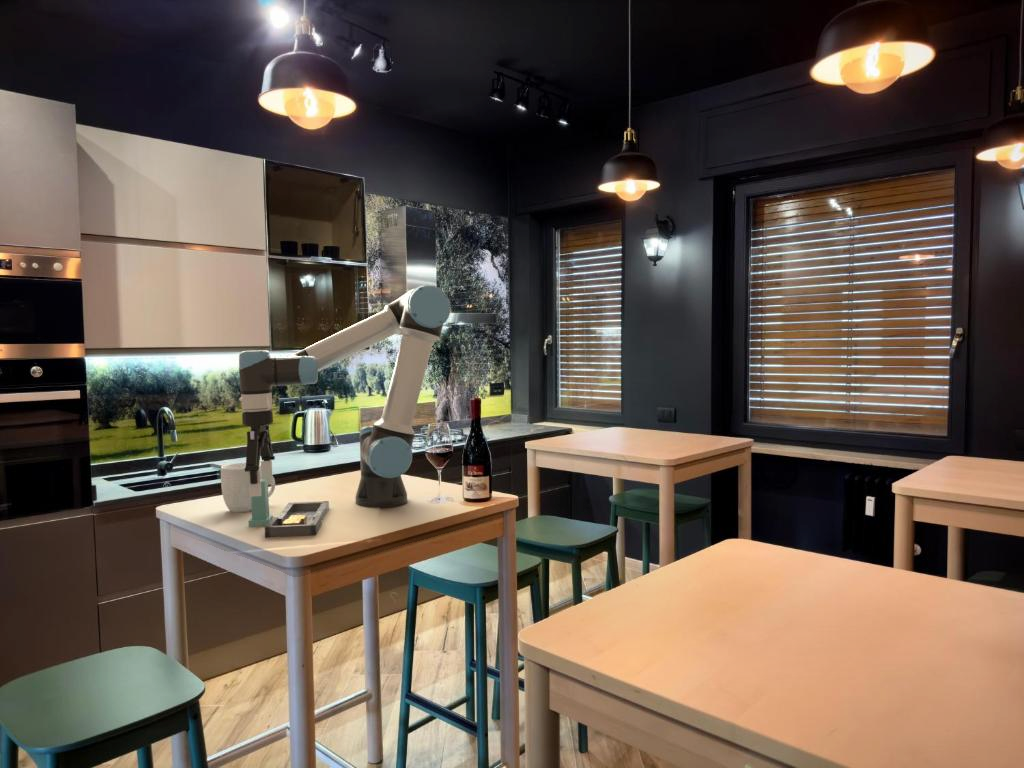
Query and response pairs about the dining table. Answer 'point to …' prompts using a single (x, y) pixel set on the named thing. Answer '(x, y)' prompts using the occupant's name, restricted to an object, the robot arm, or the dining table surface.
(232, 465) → the mug
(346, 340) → the robot arm
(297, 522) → the chip
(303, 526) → the tray
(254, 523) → the teal t-shaped block
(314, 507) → the dark gray shallow tray
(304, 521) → the chip
